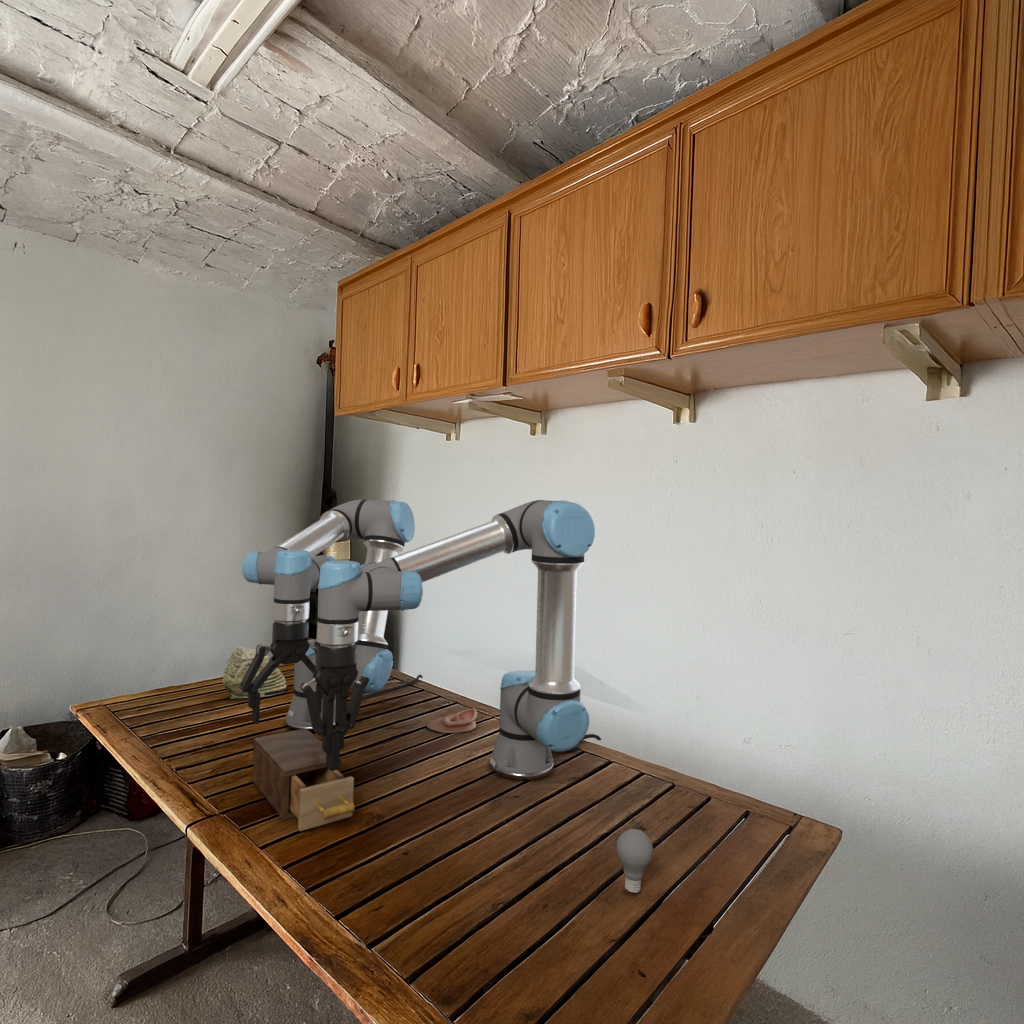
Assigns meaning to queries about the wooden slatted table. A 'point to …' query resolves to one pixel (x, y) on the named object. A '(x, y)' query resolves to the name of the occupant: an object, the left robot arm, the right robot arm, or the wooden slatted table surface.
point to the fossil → (238, 669)
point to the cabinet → (285, 764)
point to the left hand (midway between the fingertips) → (287, 716)
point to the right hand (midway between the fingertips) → (332, 767)
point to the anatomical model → (455, 722)
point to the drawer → (320, 797)
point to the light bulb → (634, 857)
